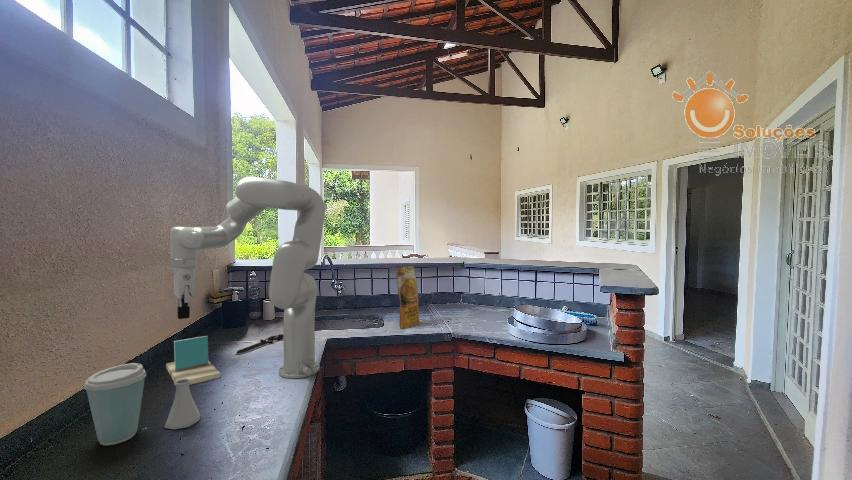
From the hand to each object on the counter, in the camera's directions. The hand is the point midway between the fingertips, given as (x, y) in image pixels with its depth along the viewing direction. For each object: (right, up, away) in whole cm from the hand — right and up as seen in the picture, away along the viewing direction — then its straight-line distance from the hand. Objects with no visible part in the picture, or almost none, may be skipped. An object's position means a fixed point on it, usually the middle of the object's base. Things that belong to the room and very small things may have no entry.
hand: (183, 317), depth 126 cm
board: (+7, -16, -7) cm, 19 cm away
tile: (+7, -10, -6) cm, 13 cm away
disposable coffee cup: (+13, -18, -43) cm, 49 cm away
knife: (+17, -16, +21) cm, 31 cm away
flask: (+23, -18, -37) cm, 47 cm away
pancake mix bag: (+73, -15, +53) cm, 91 cm away
